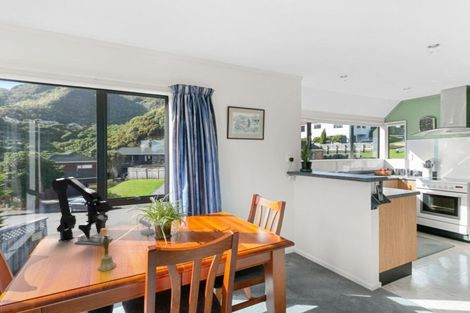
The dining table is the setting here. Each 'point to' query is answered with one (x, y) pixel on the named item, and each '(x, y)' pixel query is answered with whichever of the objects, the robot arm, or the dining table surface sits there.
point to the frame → (93, 238)
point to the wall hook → (148, 228)
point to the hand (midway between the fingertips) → (93, 236)
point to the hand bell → (106, 258)
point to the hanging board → (81, 241)
